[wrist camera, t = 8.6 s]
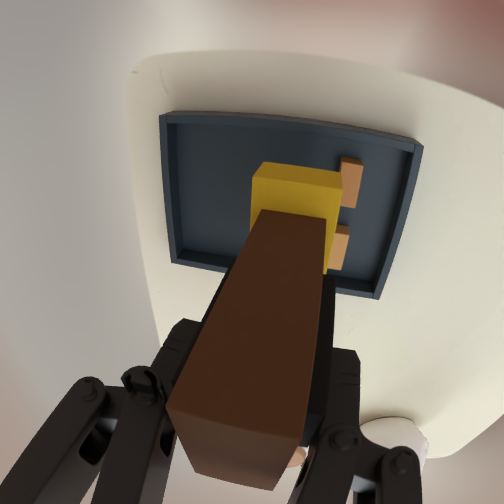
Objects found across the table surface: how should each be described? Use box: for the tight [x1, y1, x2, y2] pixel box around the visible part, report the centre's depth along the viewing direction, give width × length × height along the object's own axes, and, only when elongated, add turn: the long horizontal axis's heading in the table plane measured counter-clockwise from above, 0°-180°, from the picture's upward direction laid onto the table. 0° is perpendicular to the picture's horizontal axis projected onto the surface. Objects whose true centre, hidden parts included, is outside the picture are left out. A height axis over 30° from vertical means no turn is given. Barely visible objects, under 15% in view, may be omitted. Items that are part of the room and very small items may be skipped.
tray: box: [159, 111, 424, 300], centre depth 21 cm, size 17×12×2 cm
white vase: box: [346, 417, 428, 504], centre depth 31 cm, size 13×13×14 cm
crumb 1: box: [328, 224, 349, 270], centre depth 22 cm, size 1×3×1 cm, turn 178°
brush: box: [165, 162, 343, 491], centre depth 12 cm, size 9×4×12 cm, turn 177°
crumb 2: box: [339, 157, 363, 208], centre depth 19 cm, size 1×3×1 cm, turn 178°
